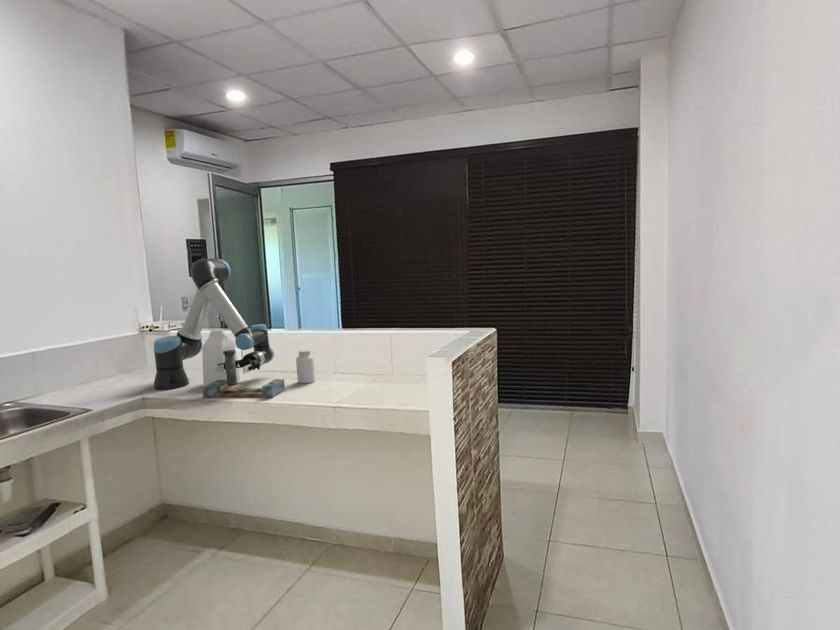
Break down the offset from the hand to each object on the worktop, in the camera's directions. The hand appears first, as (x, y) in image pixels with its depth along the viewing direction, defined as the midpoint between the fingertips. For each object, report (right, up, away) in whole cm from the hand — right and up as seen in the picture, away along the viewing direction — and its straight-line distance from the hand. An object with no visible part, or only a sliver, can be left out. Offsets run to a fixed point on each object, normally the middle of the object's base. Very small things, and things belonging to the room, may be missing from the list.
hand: (229, 370), depth 220 cm
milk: (-12, -9, +24) cm, 29 cm away
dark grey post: (+1, -9, +3) cm, 9 cm away
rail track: (+6, -10, +2) cm, 12 cm away
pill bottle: (+29, -8, +19) cm, 36 cm away
